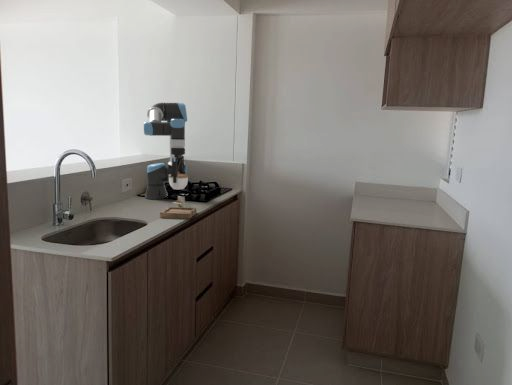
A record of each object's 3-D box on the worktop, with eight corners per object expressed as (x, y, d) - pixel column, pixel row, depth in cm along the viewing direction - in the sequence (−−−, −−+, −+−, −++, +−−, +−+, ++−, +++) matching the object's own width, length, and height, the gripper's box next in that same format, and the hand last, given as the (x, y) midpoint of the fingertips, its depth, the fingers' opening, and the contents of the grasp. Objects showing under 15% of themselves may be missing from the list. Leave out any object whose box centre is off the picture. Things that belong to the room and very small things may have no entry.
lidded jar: (172, 190, 228) (172, 173, 227) (165, 188, 237) (165, 171, 236) (191, 189, 234) (191, 172, 233) (183, 186, 243) (183, 170, 242)
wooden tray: (169, 211, 247) (169, 206, 247) (196, 212, 245) (196, 208, 245) (160, 217, 231) (160, 212, 231) (188, 219, 230) (188, 214, 229)
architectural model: (180, 209, 255) (180, 197, 254) (172, 208, 259) (172, 196, 258) (184, 209, 258) (184, 196, 257) (176, 207, 262) (176, 195, 260)
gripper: (177, 146, 244) (178, 183, 247) (164, 148, 221) (165, 190, 225) (190, 146, 243) (190, 184, 247) (178, 148, 220) (178, 190, 224)
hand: (178, 187), depth 236 cm, fingers closed on lidded jar, 11 cm apart
